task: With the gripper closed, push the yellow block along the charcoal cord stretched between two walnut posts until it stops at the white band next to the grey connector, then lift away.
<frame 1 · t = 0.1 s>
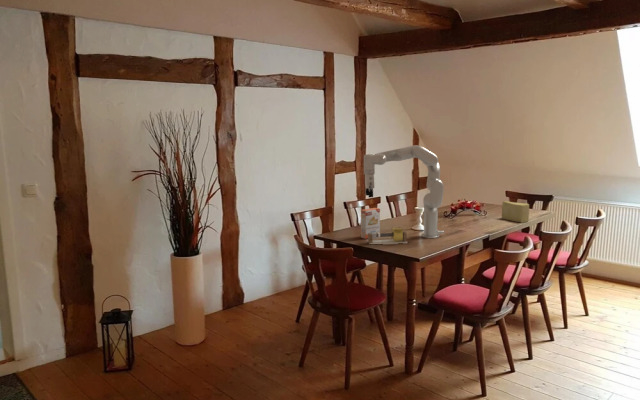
hand: (369, 196, 342), 31 cm above the table, tool pointing down, fingers open, 9 cm apart
cracker box: (370, 237, 353), on the table
cord rail: (387, 242, 336), on the table
cheese: (513, 220, 400), on the table
yellow block: (397, 233, 336), point 6 cm above the table, slide at 0.0 cm
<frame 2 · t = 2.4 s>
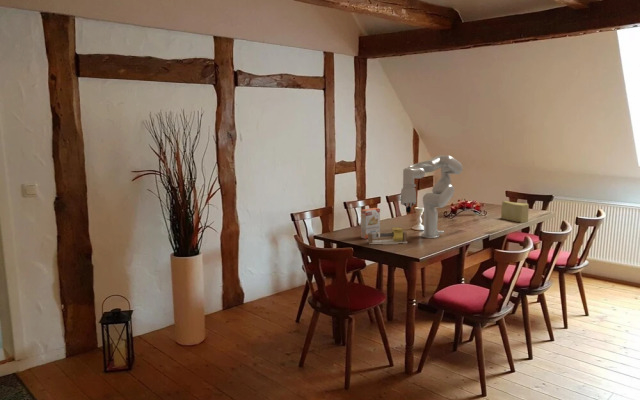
hand: (408, 212, 334), 21 cm above the table, tool pointing down, fingers closed
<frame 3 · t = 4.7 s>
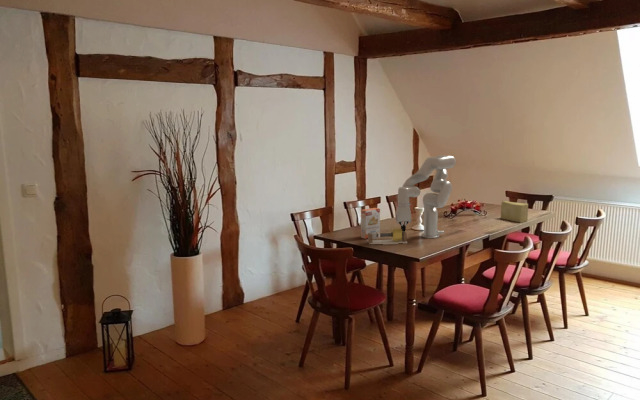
hand: (403, 231, 336), 8 cm above the table, tool pointing down, fingers closed
yellow block: (396, 234, 336), point 6 cm above the table, slide at 0.5 cm, touching gripper
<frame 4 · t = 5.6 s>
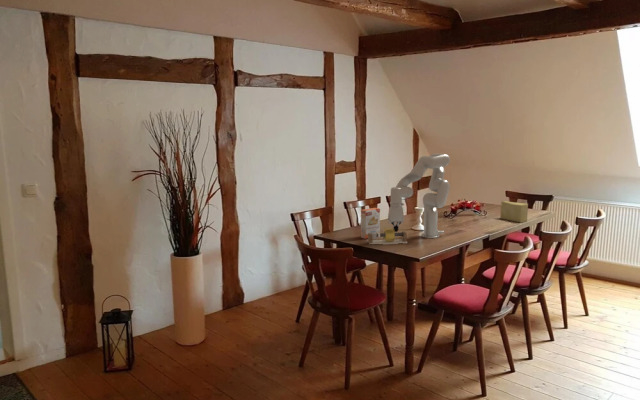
hand: (395, 231, 335), 8 cm above the table, tool pointing down, fingers closed
yellow block: (389, 234, 335), point 6 cm above the table, slide at 5.7 cm, touching gripper
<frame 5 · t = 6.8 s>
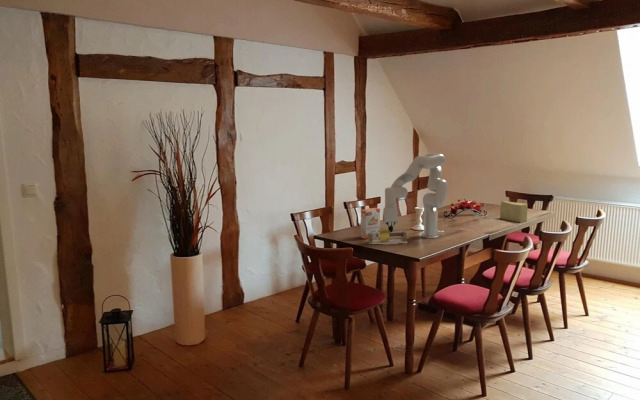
hand: (390, 231, 335), 8 cm above the table, tool pointing down, fingers closed
yellow block: (383, 234, 335), point 6 cm above the table, slide at 9.4 cm, touching cord rail, gripper
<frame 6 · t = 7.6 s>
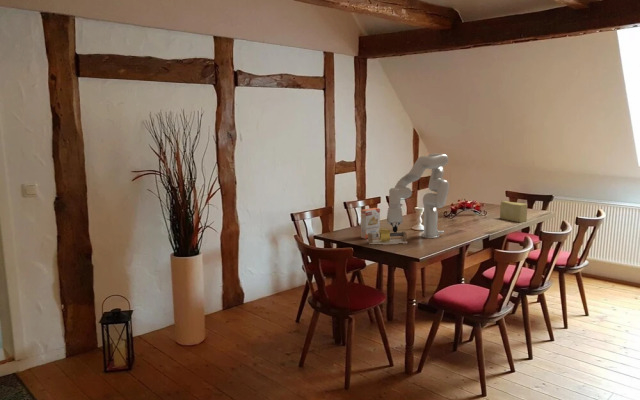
hand: (395, 232, 335), 7 cm above the table, tool pointing down, fingers closed
yellow block: (384, 234, 335), point 6 cm above the table, slide at 9.0 cm
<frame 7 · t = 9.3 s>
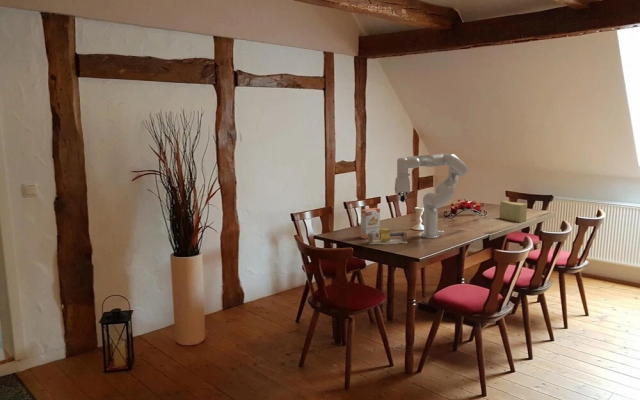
hand: (402, 201, 341), 27 cm above the table, tool pointing down, fingers closed
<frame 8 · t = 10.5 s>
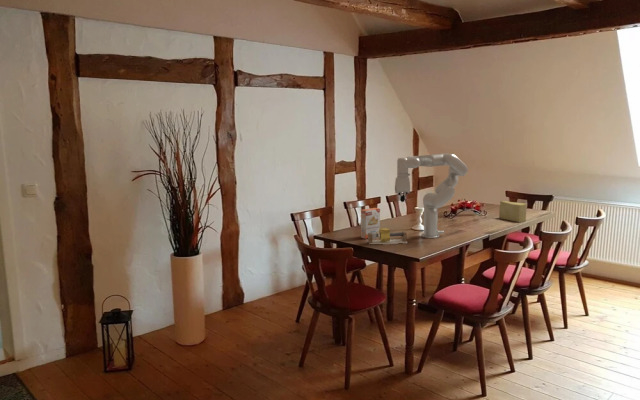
hand: (402, 201, 341), 27 cm above the table, tool pointing down, fingers closed
at the end: yellow block slide at 9.0 cm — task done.
